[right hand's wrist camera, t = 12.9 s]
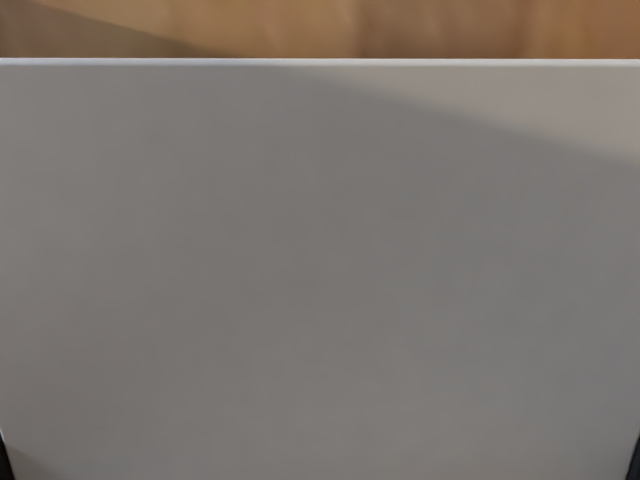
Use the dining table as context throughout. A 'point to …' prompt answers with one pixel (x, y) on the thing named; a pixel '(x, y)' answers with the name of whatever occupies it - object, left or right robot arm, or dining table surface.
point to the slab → (319, 268)
